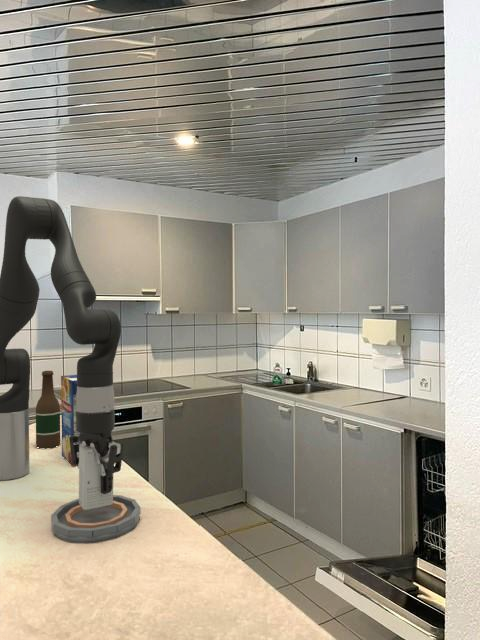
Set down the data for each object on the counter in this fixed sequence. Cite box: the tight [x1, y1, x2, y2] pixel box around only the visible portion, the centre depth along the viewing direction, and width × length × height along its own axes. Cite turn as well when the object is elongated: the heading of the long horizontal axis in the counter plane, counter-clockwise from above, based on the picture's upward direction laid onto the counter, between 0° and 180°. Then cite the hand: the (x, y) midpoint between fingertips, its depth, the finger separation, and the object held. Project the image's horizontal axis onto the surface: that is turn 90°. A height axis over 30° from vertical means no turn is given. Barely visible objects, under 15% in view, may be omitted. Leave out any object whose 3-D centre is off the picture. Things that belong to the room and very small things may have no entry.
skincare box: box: [78, 445, 114, 510], centre depth 98 cm, size 6×4×12 cm
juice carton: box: [60, 374, 80, 468], centre depth 139 cm, size 12×8×24 cm, turn 35°
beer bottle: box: [35, 370, 61, 449], centre depth 153 cm, size 8×8×24 cm
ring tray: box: [50, 494, 142, 544], centre depth 98 cm, size 17×17×2 cm
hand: (96, 489), depth 98 cm, fingers closed on skincare box, 5 cm apart
